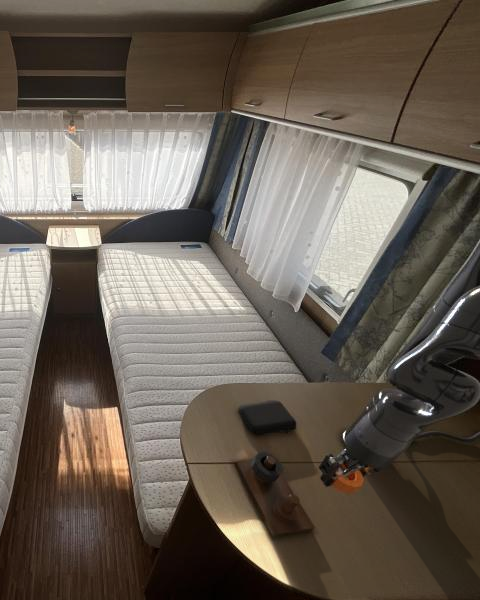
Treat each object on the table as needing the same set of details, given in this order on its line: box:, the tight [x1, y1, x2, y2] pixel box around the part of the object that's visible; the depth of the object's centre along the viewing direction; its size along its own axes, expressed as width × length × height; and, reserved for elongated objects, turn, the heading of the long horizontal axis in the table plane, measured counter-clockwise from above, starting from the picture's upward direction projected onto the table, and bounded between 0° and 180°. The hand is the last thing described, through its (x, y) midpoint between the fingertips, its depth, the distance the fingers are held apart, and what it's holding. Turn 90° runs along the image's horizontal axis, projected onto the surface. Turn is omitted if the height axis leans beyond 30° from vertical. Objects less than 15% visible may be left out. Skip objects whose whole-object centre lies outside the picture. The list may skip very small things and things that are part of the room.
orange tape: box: [330, 463, 365, 495], centre depth 74 cm, size 6×6×3 cm
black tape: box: [252, 451, 284, 482], centre depth 84 cm, size 6×6×3 cm
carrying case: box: [237, 399, 297, 436], centre depth 99 cm, size 11×3×15 cm
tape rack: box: [234, 456, 316, 538], centre depth 81 cm, size 10×17×8 cm, turn 8°
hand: (338, 480), depth 75 cm, fingers closed on orange tape, 6 cm apart
